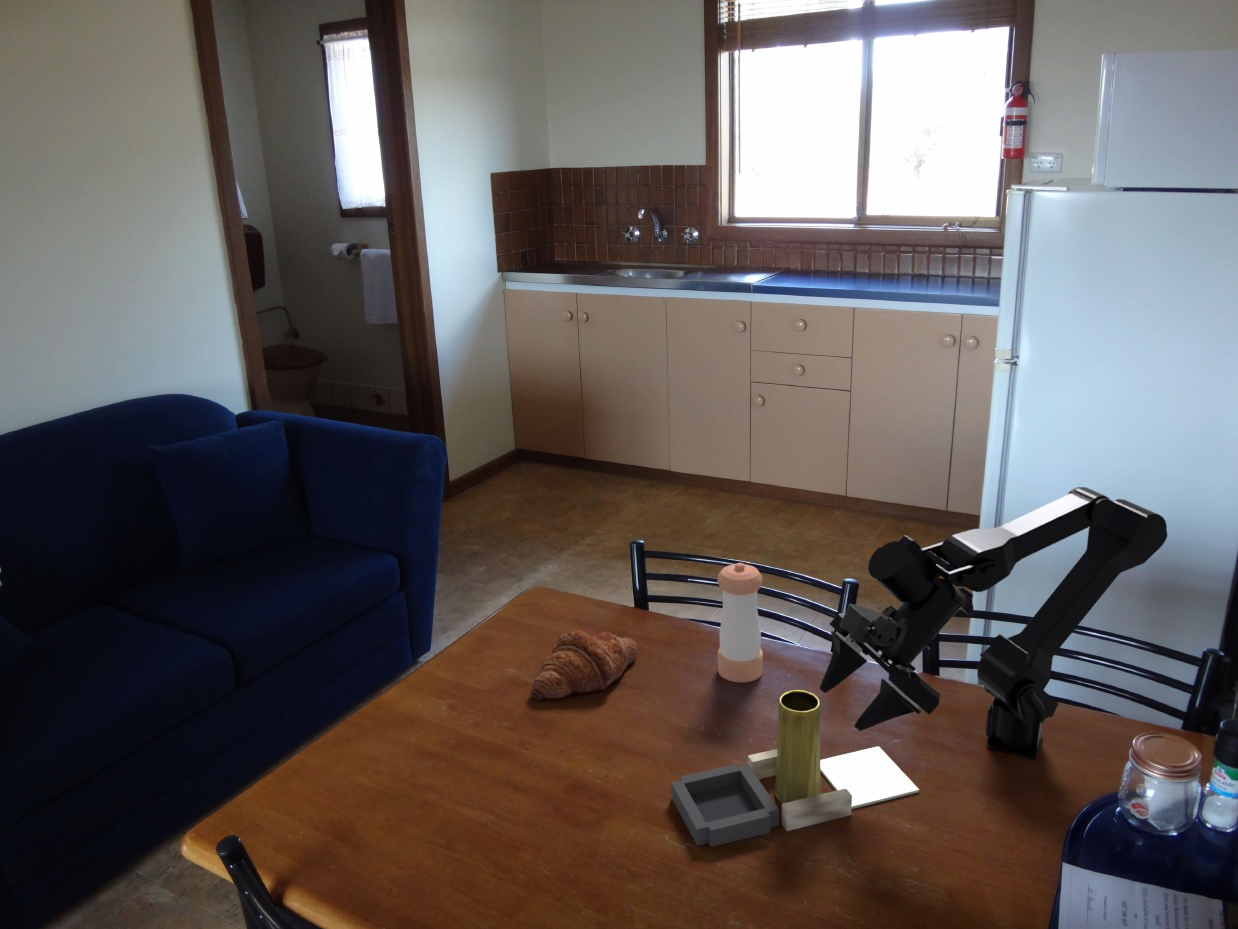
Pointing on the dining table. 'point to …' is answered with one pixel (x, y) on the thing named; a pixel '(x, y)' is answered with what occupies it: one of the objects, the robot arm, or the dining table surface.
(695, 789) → the tray
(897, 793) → the pad
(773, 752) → the channel
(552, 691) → the pastry
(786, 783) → the vase
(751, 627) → the salt shaker
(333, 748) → the dining table surface
